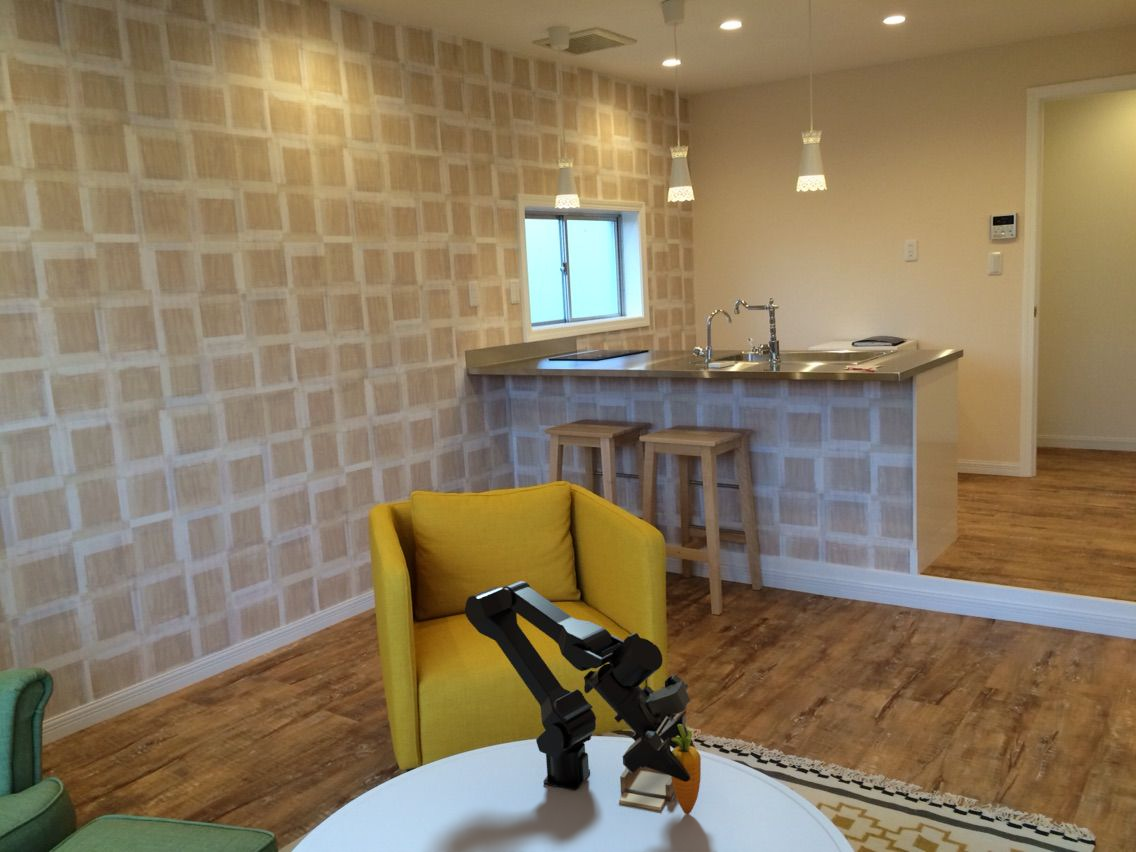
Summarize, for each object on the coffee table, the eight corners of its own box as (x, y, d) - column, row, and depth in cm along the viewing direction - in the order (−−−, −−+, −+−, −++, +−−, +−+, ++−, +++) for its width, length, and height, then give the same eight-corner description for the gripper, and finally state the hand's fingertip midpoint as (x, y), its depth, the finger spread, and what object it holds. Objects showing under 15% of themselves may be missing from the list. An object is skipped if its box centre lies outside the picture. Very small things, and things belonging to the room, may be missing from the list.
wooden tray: (614, 802, 155) (613, 785, 154) (637, 767, 166) (637, 751, 165) (665, 811, 151) (664, 794, 151) (685, 775, 162) (684, 759, 162)
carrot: (701, 824, 147) (698, 736, 145) (670, 822, 148) (666, 734, 146) (703, 806, 152) (700, 721, 150) (673, 804, 153) (669, 719, 151)
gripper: (638, 692, 140) (712, 772, 137) (674, 645, 156) (741, 715, 154) (592, 734, 144) (663, 812, 141) (632, 683, 161) (696, 752, 158)
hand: (693, 770), depth 148 cm, fingers open, 6 cm apart
